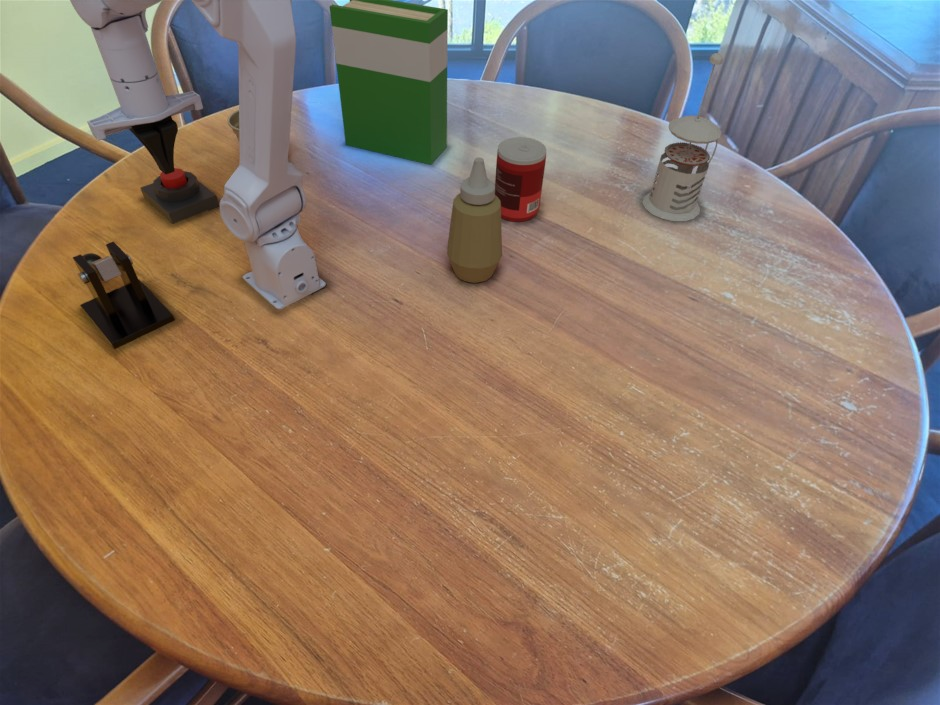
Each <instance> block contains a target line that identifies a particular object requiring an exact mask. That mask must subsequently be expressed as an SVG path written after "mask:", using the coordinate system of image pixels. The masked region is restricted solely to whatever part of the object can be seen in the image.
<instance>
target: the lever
mask: <svg viewBox="0 0 940 705" xmlns="http://www.w3.org/2000/svg"><path fill="white" fill-rule="evenodd" d="M82 256H83V257H84V258H85V260H86V261H87V262H88V263H89V264H90V265H91V266H92V268H93V269H94V270H95V271H96V273H97V275H98V277H99V279H100V281H101V282H104V283H106V282H108V281H111V280H113V279H116V278H118V277H121V276H120V275H122V273H121V271H120V269H119V268H118V266H117V264H116V263H115V261H114V259H113V257H111V255H110V256H109V255H107V256H104V257H101V256H100V255H99V254H97V253H93V252H92V253H91V252H90V253H85V254H83V255H82Z"/></svg>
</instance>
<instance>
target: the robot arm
mask: <svg viewBox="0 0 940 705" xmlns="http://www.w3.org/2000/svg"><path fill="white" fill-rule="evenodd" d="M69 1H70V4H71V6H72V8H73V9H74V11H75V13H77V15H78V16H79V17H80V19H81V20H82V21H83V22H84V24H86V25H87V26H89V27H90V30H91V32H92V34H93V38H94V40H95V43H96V45H97V48H98V51H99V54H100V56H101V58H102V61H103V64H104V67H105V69H106V72H107V74H108V77H109V79H110V82H111V85H112V87H113V91H114V94H115V96H116V98H117V101H118V105H119V107H117V108H115V109H113V110H111V111H108V112H107V113H105V114H103V115H100V116H98V117H95V118H93V119H90V120H87V121H86V122H87V125H88V128H89V130H90V132H91V134H92V136H93V137H94V138H95V139H97V140H98V141H103V140H106V139H107V137H108V136H110V135H114V134H117V133H121V132H123V131H127V130H129V131H130V132H131V133H132V134H133V135H134V136H135V137H136V138H137V140H138V141H139V142H140V144H142V145H143V146H144V148H145V149H146V150H147V151H148V153H149V154H150V156H151V157H152V159H153V160H154V162H155V163H156V166H157V167H158V169H159V170H160V171H161V173H162V172H163V173H164V174H169V173H172V172H175V169H174V168H175V159H174V158H175V157H174V155H175V144H176V138H177V135H178V132H179V127H178V122H176V121H175V120H174V119H173V116H177V115H179V114H183V113H186V112H190V111H193V110H194V111H201V110H203V109H204V106H203V102H202V97H201V95H200V94H198V93H197V92H195V91H194V90H190V91H186V92H182V93H174V94H168V95H167V94H166V93H165V89H164V86H163V84H162V81H161V78H160V73H159V71H158V68H157V65H156V62H155V58H154V56H153V53H152V49H151V47H150V43H149V39H148V37H147V34H146V33H147V32H148V31H149V25H148V22H147V18H146V12H147V9H148V8H151V7H153V6H155V5H157V4H159V3H161V2H162V1H163V0H69ZM190 2H192V4H194V6H195V7H196V9H197V10H198V11H199V13H201V15H202V16H203V17H204V18H205V19H206V21H207V22H208V23H209V24H210V26H211V27H212V29H214V30H215V31H216V33H217V34H218V35H219V37H221V38H223V39H226V40H229V41H232V42H234V43H237V46H238V49H237V50H238V51H237V52H238V110H239V141H238V145H239V146H238V147H239V148H238V149H239V151H238V152H239V153H238V154H239V165H238V166H237V167H236V169H235V170H234V172H233V173H232V174H231V176H230V177H229V178H228V180H227V181H226V182H225V184H224V185H223V196H222V197H221V199H219V215H220V217H221V220H222V222H223V223H224V225H225V227H226V229H227V230H228V231H229V232H230V233H231V234H232V235H233V236H234V237H236V238H237V239H238V240H241V241H243V243H244V248H245V251H246V254H247V258H248V262H249V265H250V269H251V271H249V272H247V273H245V274H244V275H242V280H243V281H244V282H245V283H246V284H248V285H249V286H250V287H251V288H252V289H253V290H254V291H255V292H257V293H258V294H259V295H260V296H261V297H262V298H263V299H265V300H266V302H268V303H269V304H270V305H271V306H272V307H274V309H276V310H283V309H284V308H286V307H288V306H291V305H292V304H294V303H296V302H298V301H300V300H302V299H304V298H306V297H308V296H310V295H312V294H313V293H315V292H318V291H319V290H321V289H324V288H325V287H326V284H327V283H326V282H325V281H324V280H323V279H322V278H321V277H320V276H319V271H318V267H317V260H316V256H315V253H314V250H313V249H312V248H311V247H310V246H309V245H308V244H307V243H306V242H305V241H304V240H303V238H302V236H301V234H300V231H299V228H298V224H299V223H300V222H301V221H302V218H301V214H300V213H302V212H303V211H304V210H305V209H306V206H307V196H306V192H305V190H304V186H303V180H304V175H303V174H302V173H301V171H299V169H298V168H297V167H296V166H295V165H293V163H291V162H290V161H289V152H290V151H289V150H290V136H291V124H292V123H291V122H292V107H293V92H294V81H295V80H294V78H295V67H296V66H295V64H296V50H297V34H296V27H295V20H294V15H293V8H292V3H293V2H292V0H190Z"/></svg>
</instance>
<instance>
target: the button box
mask: <svg viewBox="0 0 940 705" xmlns="http://www.w3.org/2000/svg"><path fill="white" fill-rule="evenodd" d="M183 171H184V173H185V176H186V179H187V183H186V184H185V185H184V186H181V187H178V188H165V187H164V186H163V183H162V180H161V178H160V175H159V176H157V177H156V178H155V179H154V180H153V182H152V183H149V184H146V185H143V186H141V187H140V191H141V194H142V196H143V198H144V200H145V201H147V203H149V204H150V205H151V206H152V207H153V208H154V209H155V210H156V211H157V212H159V213H160V214H161V215H162V216H163V217H164V218H165V219H166V220H168V222H170V223H171V224H172V225H174V224H176V223H177V224H178V223H179V222H181V221H184V220H187V219H189V218H192V217H194V216H197V215H200V214H201V213H205V212H207V211H212V210H215V209H217V208H220V202H219V200H218V197H217V194H215V193H214V192H213V191H212V190H211V189H210V188H208V187H207V186H206V185H205V184H203V183H202V182H201V181H199V180H198V177H197V176H196V175H195V174H194V173H193V172H191V171H185V170H183Z"/></svg>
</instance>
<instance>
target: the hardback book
mask: <svg viewBox="0 0 940 705" xmlns="http://www.w3.org/2000/svg"><path fill="white" fill-rule="evenodd" d="M329 14H330V23H331V30H332V32H331V33H332V39H333V47H334V48H333V49H334V58H335V66H336V74H337V81H338V89H339V90H338V92H339V100H340V107H341V115H342V124H343V125H342V126H343V133H344V140H345V141H344V142H345V143H344V144H345V146H348V147H352V148H356V149H357V148H358V149H360V150H361V149H362V150H364V151H365V150H366V151H370V152H374V153H378V154H383V155H387V156H392V157H395V158H399V159H404V160H409V161H413V162H416V163H417V162H418V163H421V164H426V165H430V166H431V165H433V163H434V162H435V161H436V160H437V159H438V158H439V157H440V155H441V154H442V153H443V152H445V150H446V148H447V146H448V45H449V44H448V42H449V41H448V39H449V38H448V35H449V34H448V33H449V32H448V30H449V29H448V27H449V24H448V21H449V18H448V16H449V10H448V9H446V8H443V7H442V8H441V7H436V6H429V5H423V4H418V3H412V2H405V1H399V0H349V1H348V2H347V3H345V4H344V5H338V4H331V5H329Z"/></svg>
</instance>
